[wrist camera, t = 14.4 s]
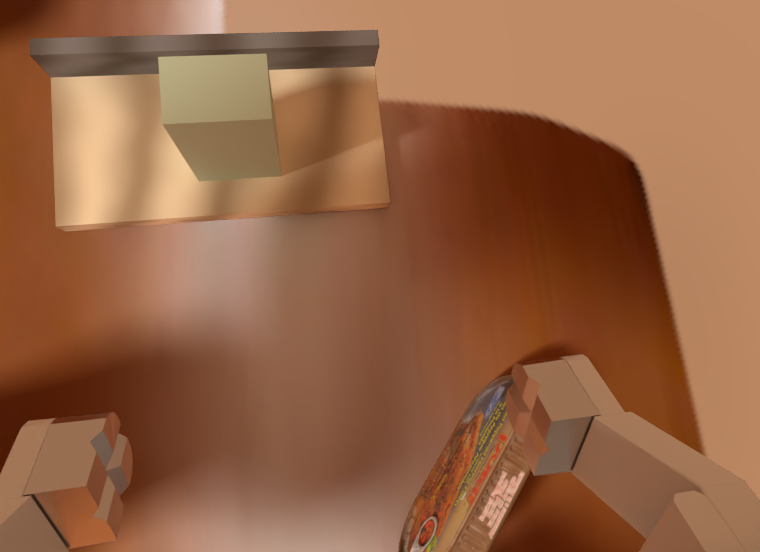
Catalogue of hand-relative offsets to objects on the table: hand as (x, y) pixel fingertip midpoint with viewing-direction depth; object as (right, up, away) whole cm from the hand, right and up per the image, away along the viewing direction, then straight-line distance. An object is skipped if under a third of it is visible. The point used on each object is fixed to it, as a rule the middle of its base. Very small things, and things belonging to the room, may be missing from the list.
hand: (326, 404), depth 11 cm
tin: (+7, -12, +29) cm, 32 cm away
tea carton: (-9, +12, +29) cm, 33 cm away
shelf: (-11, +13, +30) cm, 35 cm away
